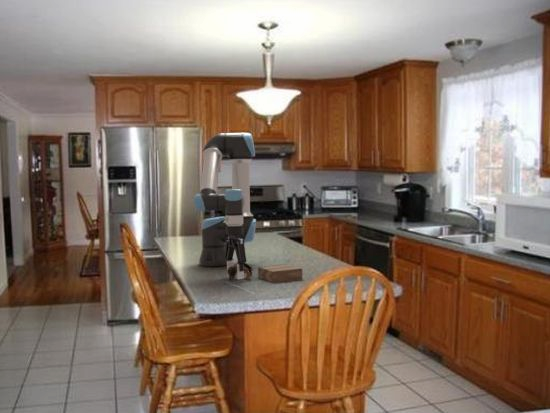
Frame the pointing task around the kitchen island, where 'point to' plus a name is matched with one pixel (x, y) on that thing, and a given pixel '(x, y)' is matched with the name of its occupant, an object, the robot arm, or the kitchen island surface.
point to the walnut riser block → (280, 273)
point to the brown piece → (233, 271)
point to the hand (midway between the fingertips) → (235, 277)
